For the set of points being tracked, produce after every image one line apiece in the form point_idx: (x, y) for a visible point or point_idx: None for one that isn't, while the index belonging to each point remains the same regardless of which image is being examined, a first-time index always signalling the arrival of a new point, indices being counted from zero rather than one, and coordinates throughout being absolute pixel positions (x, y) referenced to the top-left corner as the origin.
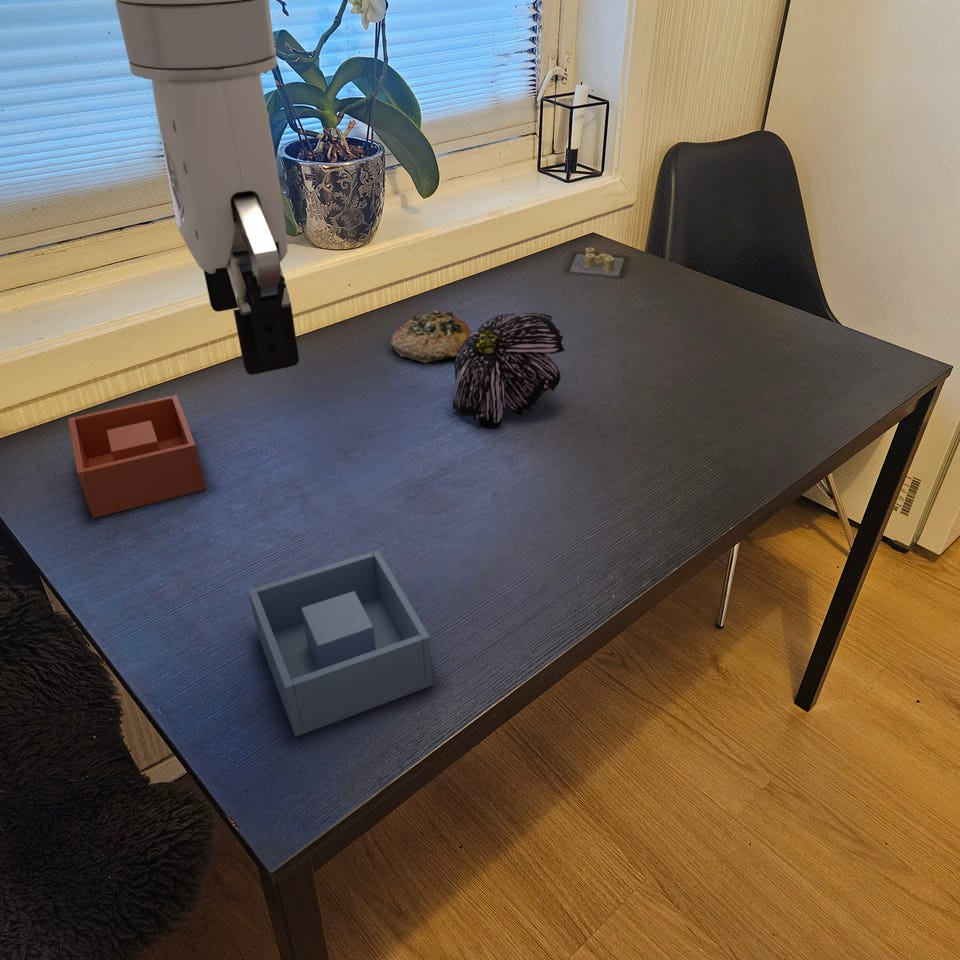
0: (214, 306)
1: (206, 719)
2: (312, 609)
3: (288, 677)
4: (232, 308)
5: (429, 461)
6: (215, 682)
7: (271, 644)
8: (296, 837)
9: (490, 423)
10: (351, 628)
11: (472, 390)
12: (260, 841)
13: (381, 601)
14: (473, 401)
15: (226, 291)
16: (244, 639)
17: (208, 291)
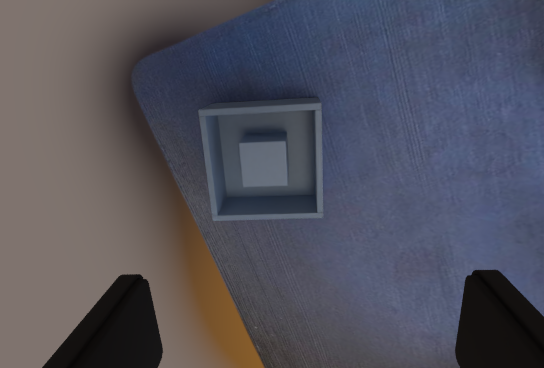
0: (472, 280)
1: (250, 42)
2: (279, 149)
3: (207, 114)
4: (462, 306)
5: None
6: (285, 54)
7: (246, 109)
8: (138, 86)
9: None
10: (246, 171)
11: None
12: (141, 63)
13: (308, 195)
14: None
15: (487, 335)
16: (321, 85)
17: (511, 299)
